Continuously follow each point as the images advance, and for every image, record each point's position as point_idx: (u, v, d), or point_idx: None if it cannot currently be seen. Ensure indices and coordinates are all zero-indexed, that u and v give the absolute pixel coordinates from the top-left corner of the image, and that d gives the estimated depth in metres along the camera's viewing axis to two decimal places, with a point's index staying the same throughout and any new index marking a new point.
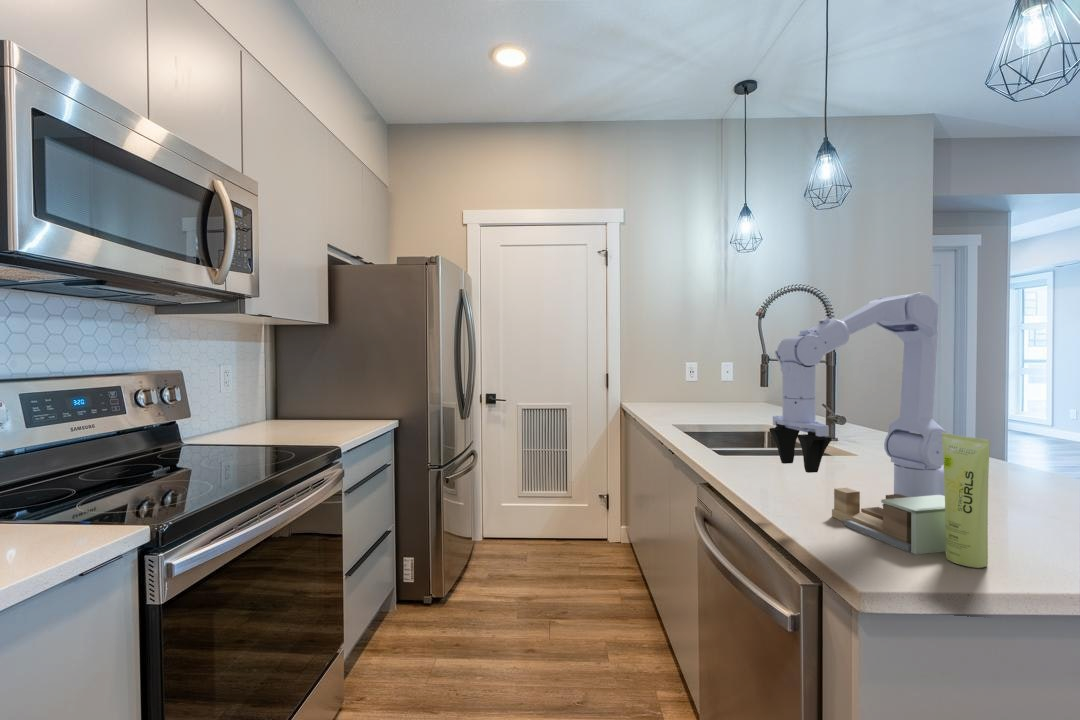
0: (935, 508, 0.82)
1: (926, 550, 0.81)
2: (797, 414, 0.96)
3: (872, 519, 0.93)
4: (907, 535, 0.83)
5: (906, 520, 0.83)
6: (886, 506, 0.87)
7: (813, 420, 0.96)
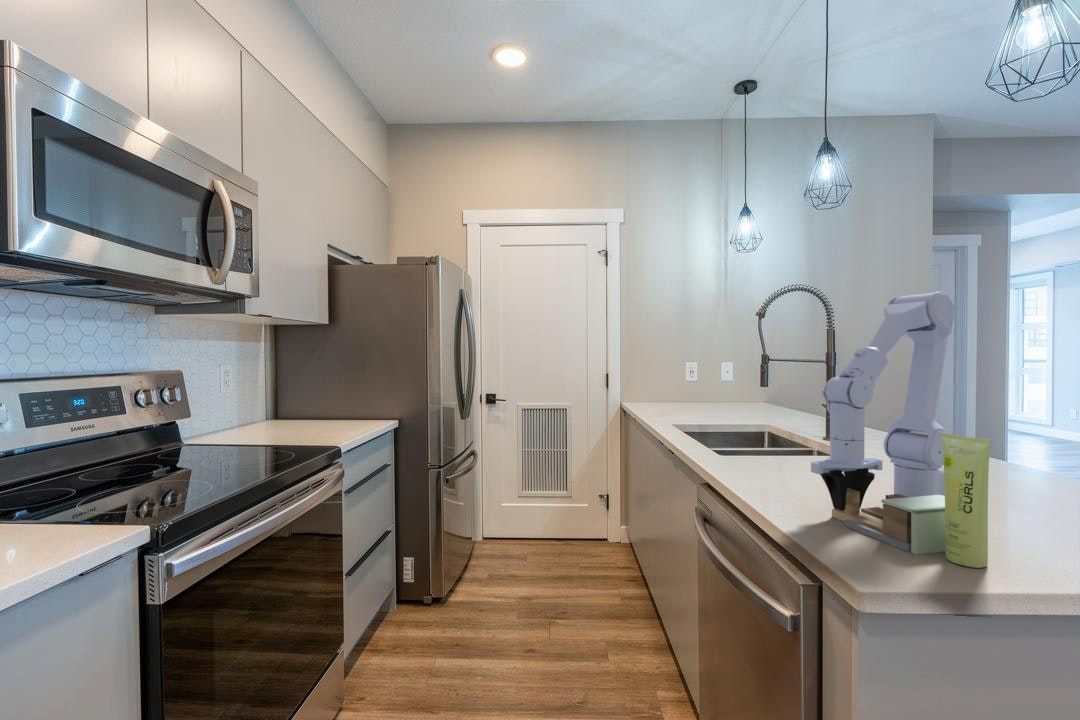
0: (935, 508, 0.82)
1: (926, 550, 0.81)
2: (830, 452, 0.99)
3: (872, 519, 0.93)
4: (907, 535, 0.83)
5: (906, 520, 0.83)
6: (886, 506, 0.87)
7: (841, 461, 0.96)
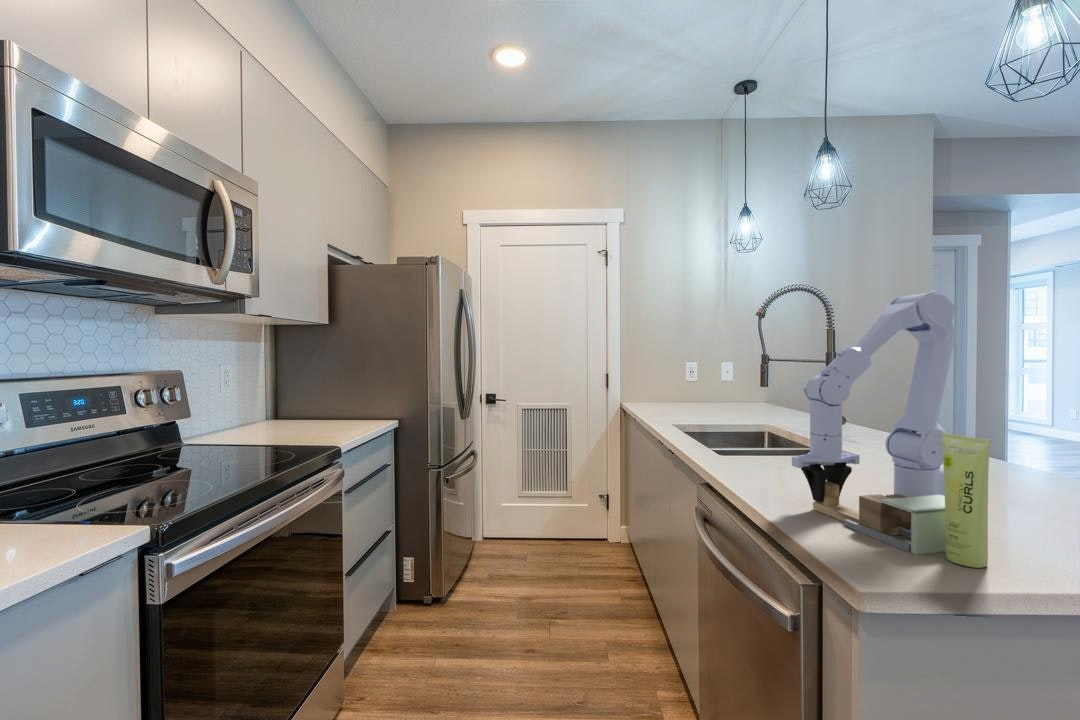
0: (935, 508, 0.82)
1: (926, 550, 0.81)
2: (810, 447, 1.05)
3: (850, 510, 0.98)
4: (881, 525, 0.88)
5: (880, 510, 0.88)
6: (862, 498, 0.92)
7: (820, 456, 1.02)
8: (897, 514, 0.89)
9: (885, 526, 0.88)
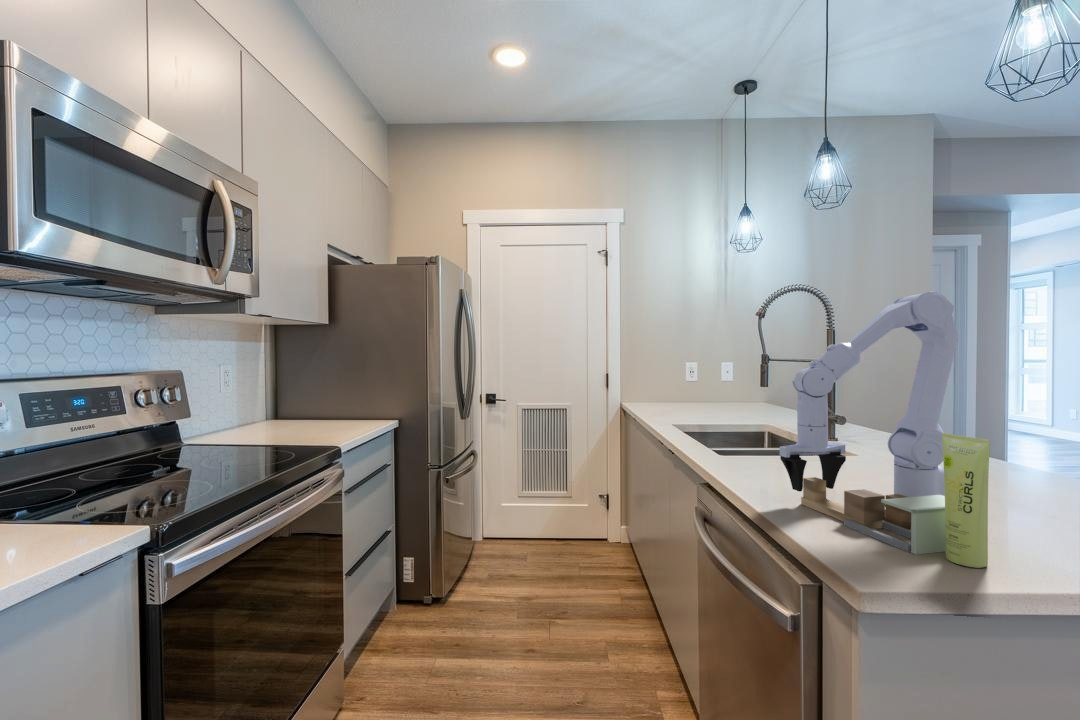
0: (935, 508, 0.82)
1: (926, 550, 0.81)
2: None
3: (836, 505, 1.01)
4: (864, 518, 0.92)
5: (863, 505, 0.92)
6: (847, 493, 0.95)
7: (806, 446, 1.05)
8: (880, 508, 0.92)
9: (868, 520, 0.92)
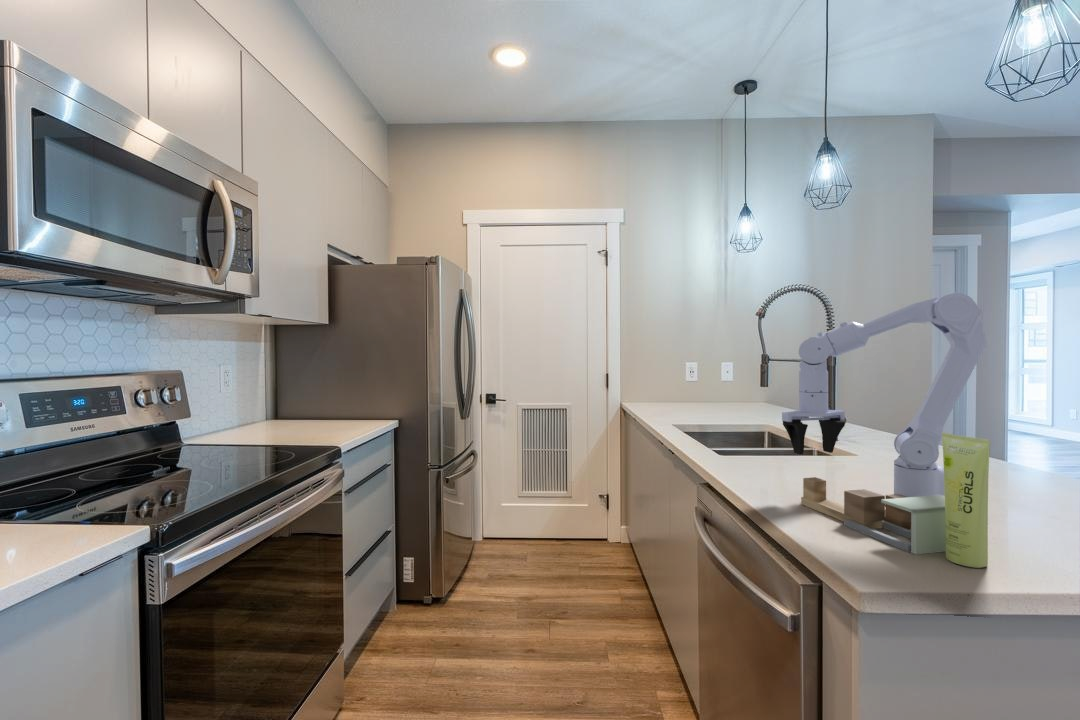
0: (935, 508, 0.82)
1: (926, 550, 0.81)
2: (799, 404, 1.14)
3: (836, 505, 1.01)
4: (864, 518, 0.92)
5: (863, 505, 0.92)
6: (847, 493, 0.95)
7: (807, 411, 1.11)
8: (880, 508, 0.92)
9: (868, 520, 0.92)
